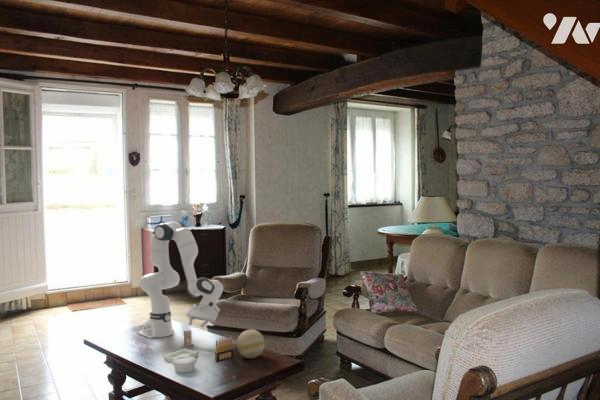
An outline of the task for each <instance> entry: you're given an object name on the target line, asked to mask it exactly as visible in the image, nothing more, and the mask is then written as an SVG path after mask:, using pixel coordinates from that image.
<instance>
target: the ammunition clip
mask: <svg viewBox="0 0 600 400" xmlns="http://www.w3.org/2000/svg"><path fill="white" fill-rule="evenodd" d="M233 345H234V343H233V337H232V335H231V336H230V337H229V336H228V337H225V338H223V337H222V338H219V339H216V340H215V347H214V348H215V352H214V362H215V363H217V364H218V363H221V362H225V361H229V360H233V359H234V358H235V354H234V346H233Z"/></svg>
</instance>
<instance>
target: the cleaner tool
mask: <svg viewBox="0 0 600 400" xmlns="http://www.w3.org/2000/svg"><path fill="white" fill-rule="evenodd" d="M192 348H195V344H194V343H192V330H190V329H186V330H183V346H181V349H188V350H191V349H192ZM181 349H180V350H181Z"/></svg>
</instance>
